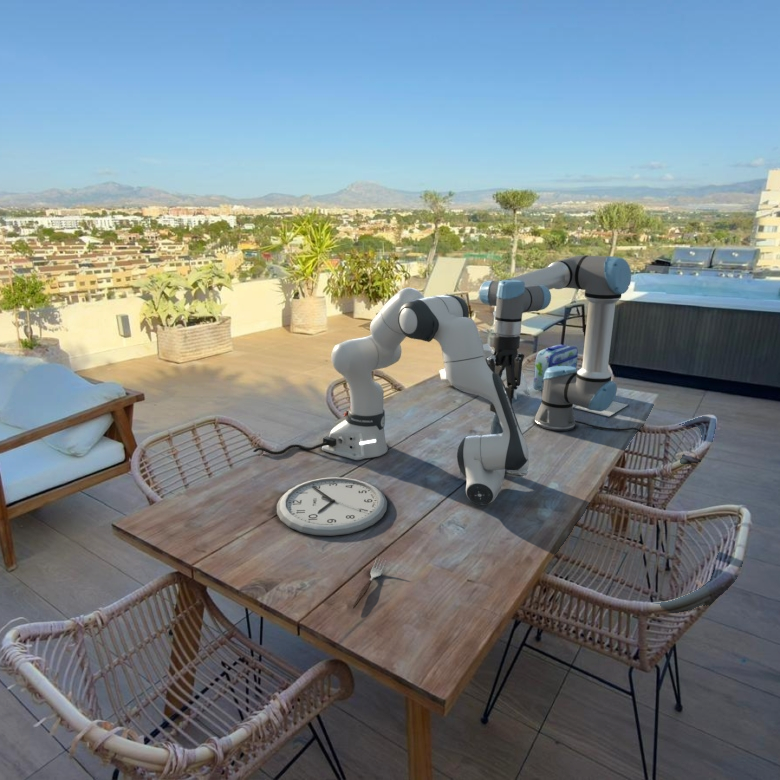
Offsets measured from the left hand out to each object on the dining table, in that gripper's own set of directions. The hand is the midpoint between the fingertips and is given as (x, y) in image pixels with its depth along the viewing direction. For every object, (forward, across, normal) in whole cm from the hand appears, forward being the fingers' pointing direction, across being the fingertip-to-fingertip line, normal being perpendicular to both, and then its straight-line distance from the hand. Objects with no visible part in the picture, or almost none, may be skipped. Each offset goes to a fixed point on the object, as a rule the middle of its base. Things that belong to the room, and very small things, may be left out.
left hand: (497, 451), depth 164 cm
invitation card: (+79, -33, +6) cm, 86 cm away
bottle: (-1, 0, +6) cm, 6 cm away
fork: (-67, +16, +6) cm, 69 cm away
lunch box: (+98, -12, +6) cm, 99 cm away
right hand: (-1, 0, -14) cm, 14 cm away
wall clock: (-39, +38, +6) cm, 55 cm away
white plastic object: (+79, +20, +6) cm, 82 cm away
